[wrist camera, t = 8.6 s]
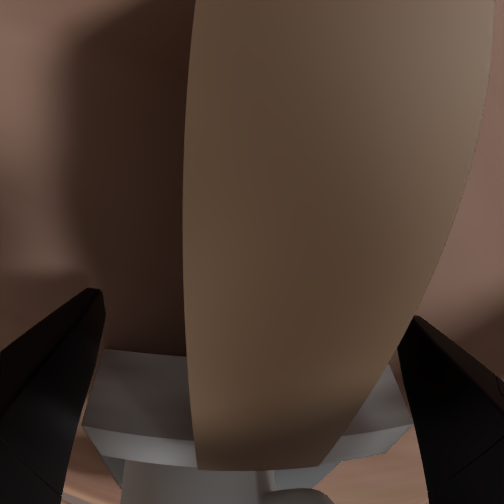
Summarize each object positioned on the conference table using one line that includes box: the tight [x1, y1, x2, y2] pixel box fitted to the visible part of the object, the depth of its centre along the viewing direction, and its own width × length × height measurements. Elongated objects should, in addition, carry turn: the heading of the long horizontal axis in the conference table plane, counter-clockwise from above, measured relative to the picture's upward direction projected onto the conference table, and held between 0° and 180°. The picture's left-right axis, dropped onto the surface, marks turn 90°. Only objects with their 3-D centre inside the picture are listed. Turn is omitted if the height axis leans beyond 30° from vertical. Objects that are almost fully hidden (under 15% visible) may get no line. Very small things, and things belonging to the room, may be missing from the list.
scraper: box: [81, 0, 495, 471], centre depth 7 cm, size 11×14×4 cm
